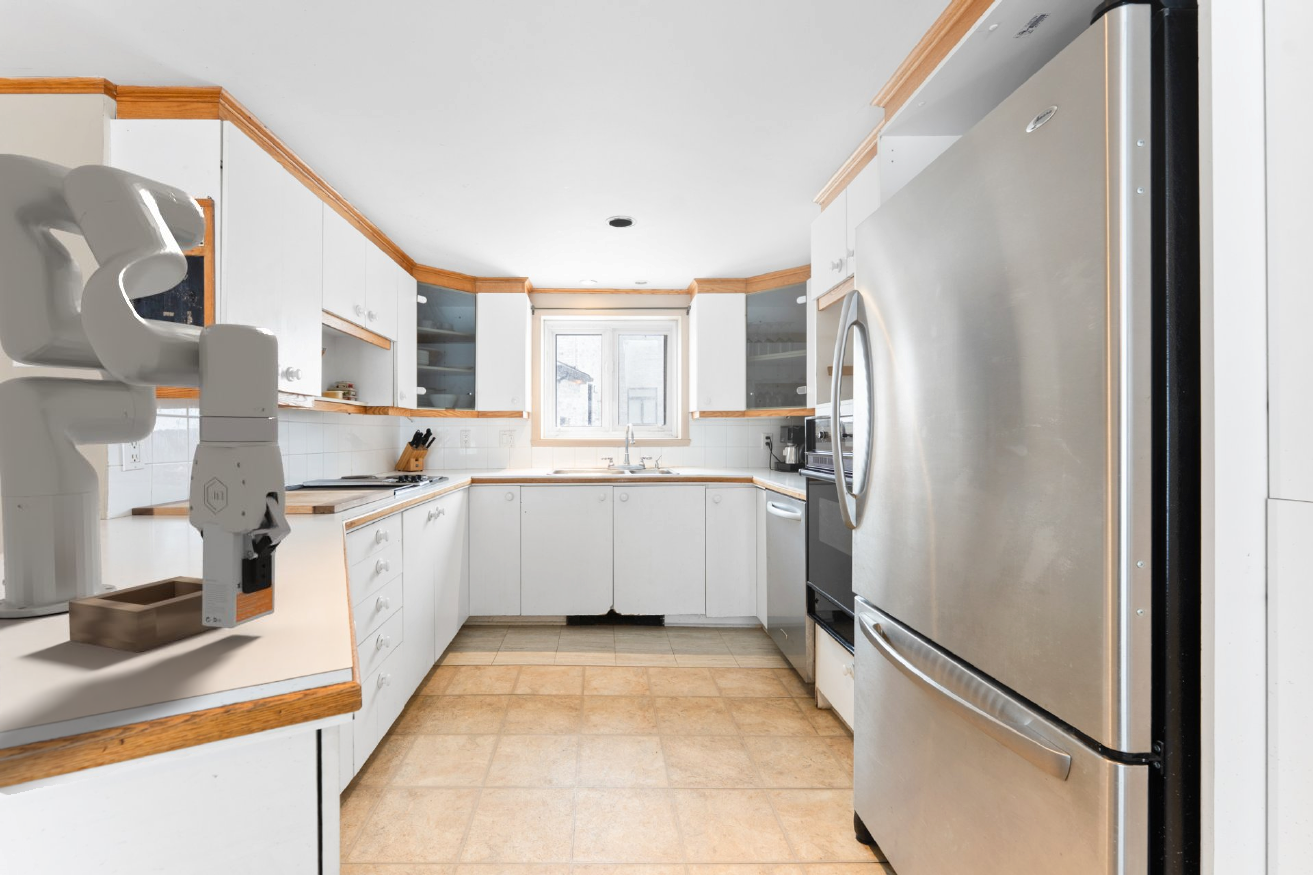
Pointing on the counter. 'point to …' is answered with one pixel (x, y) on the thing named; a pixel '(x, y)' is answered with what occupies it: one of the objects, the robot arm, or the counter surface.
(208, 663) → the counter surface
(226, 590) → the skincare box
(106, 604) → the wooden tray
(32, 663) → the counter surface
